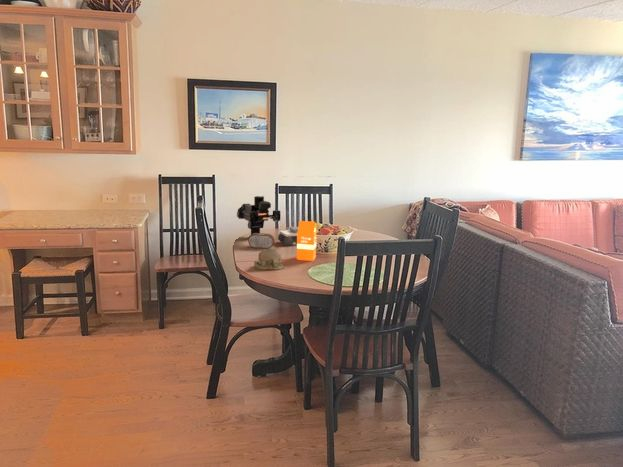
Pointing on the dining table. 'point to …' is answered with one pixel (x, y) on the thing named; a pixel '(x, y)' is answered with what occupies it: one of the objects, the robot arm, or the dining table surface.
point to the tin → (261, 240)
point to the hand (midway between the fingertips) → (269, 218)
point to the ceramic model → (268, 260)
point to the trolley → (288, 236)
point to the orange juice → (306, 241)
